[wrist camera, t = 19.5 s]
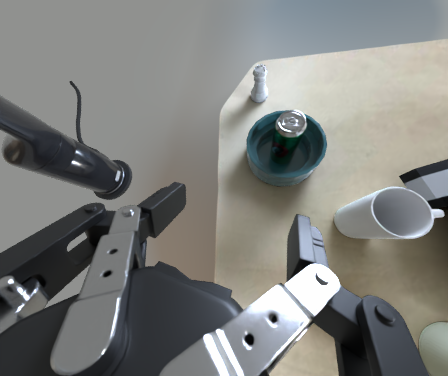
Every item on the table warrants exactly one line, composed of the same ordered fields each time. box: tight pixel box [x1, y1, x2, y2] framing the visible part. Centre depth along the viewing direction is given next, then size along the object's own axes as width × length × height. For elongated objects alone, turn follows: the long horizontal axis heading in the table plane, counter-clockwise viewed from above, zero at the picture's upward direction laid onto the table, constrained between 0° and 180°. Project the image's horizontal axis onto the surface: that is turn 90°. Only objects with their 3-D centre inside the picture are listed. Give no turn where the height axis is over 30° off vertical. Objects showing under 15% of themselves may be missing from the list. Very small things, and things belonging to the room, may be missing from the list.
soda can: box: [270, 110, 307, 164], centre depth 33 cm, size 5×5×12 cm
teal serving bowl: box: [247, 110, 327, 186], centre depth 37 cm, size 15×15×6 cm
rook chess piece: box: [251, 64, 268, 103], centre depth 42 cm, size 4×4×8 cm
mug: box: [334, 187, 444, 239], centre depth 27 cm, size 10×7×12 cm, turn 88°
